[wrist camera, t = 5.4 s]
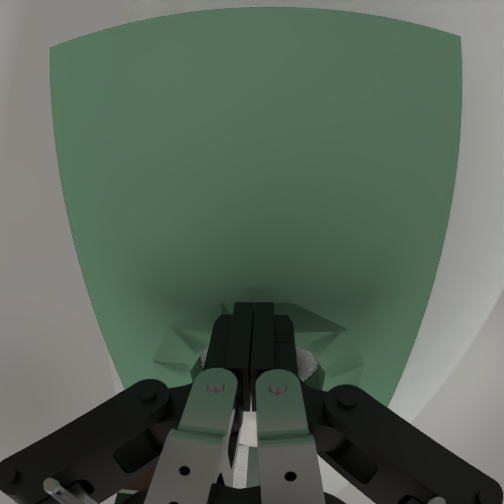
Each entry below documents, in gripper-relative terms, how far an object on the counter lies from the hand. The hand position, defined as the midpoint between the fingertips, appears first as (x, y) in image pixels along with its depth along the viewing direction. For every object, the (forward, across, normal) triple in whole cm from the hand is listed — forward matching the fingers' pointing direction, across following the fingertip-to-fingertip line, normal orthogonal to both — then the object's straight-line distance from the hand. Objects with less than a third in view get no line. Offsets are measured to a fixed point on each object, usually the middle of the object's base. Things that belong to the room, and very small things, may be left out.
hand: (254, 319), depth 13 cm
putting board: (+3, 0, 0) cm, 3 cm away
